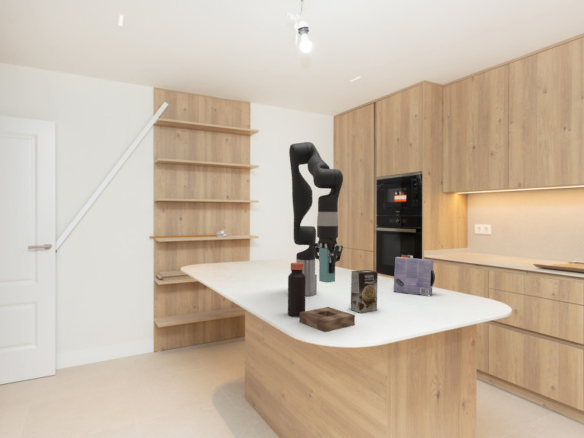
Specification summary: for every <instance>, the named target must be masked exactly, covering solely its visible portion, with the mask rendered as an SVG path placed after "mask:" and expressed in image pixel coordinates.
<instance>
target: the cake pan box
mask: <svg viewBox="0 0 584 438" xmlns="http://www.w3.org/2000/svg"><path fill="white" fill-rule="evenodd" d="M394 257H395V256H394ZM394 259H395V260H394V274H393V292H394V293H395V292H396V293H401V292H403V293H404V294H408V293H412V294H411V295H417V294H422V295H421V296H425V295H431V294H432V295H433V286H434V284H435V280H436V274H435V272H434V259H426V258H425V259H424V258H423V259H422V258H416V257H415V258H412V257H402V256H401V257H400V256H396V257H395V258H394ZM432 295H431V296H432Z"/></svg>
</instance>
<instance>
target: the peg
mask: <svg viewBox="0 0 584 438" xmlns="http://www.w3.org/2000/svg"><path fill="white" fill-rule="evenodd" d="M333 253H334V251H333ZM333 253H330V254H333ZM318 256H319V260H318V261H319V262H318V263H319V264H318V265H319V268H318V272H319V273H318V279H319V282H323V283H326V284H328V283H333V282H336V271H335V272H334V273H332V274H330V273H329V257H328V249H327V248H320V253H318ZM331 258H332V259H333V256H331Z"/></svg>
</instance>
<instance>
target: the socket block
mask: <svg viewBox="0 0 584 438" xmlns="http://www.w3.org/2000/svg"><path fill="white" fill-rule="evenodd" d="M355 316H356V315H355V314H353V313H349V312H346V311H344V310H339V309H336V308H333V307H330V306H326V307H320V308H315V309H310V310H305V311H304V312H299V317H298V318H299V323H301V324H304V325H305V326H306V325H307V326H309V327H312V328H314V329H317V330H320V331H322V332H324V333H326V332H330V331H334V330H339V329H342V328H347V327H351V326H354V325H355V323H356V322H355V320H356V319H355V318H356V317H355Z"/></svg>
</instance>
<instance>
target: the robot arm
mask: <svg viewBox="0 0 584 438" xmlns="http://www.w3.org/2000/svg"><path fill="white" fill-rule="evenodd" d="M288 154H289V162H290V163H289V164H290V173H291V190H292V193H291V194H292V195H291V197H292V210H293V211H292V212H293V242H294V244H295V245H297V246H308V248H306V249H305V250H302V251H299V252H297V253H296V260H295V261H296V262H295V263H303V271H302V273H303V274H304V275H305V277H306V279H305V297H311V296H315V295H317V293H318V290H317V289H318V287H317V285H318V284H317V282H318V281H317V278H318V276H317V274H316V260H318V261H319V253H320V248H327V249H328V257H329V273H330V274H332V273H334V272H335V273H336V263H337V262H339V261H340V260H341V257H342V253H343V249H344V247H343V245H340V244H338V241H337V239H338V237H339V213H338V212H339V211H338V208H339V207H338V203H339V197H340V192H341V189H342V185H343V182H344V175H343V173H342V171H341V170H340V169H338V168H337V169H336V168H335V169H334V168H330V166H329V165H328V164H327V163H326V162H325V161H324V160H323V158H322V157H321V155H320V153H319V151H318V149H317V148H316V146H315V145H314V143H312V142H310V141H304V142H298V143H297V142H296V143H291V144H290V146H289V153H288ZM301 165H307V170H308V173H309V174H310V175H311V176H312V178H313V185H314V186H315V187H316V188H318V189H330V191H329V192H328V194H323V195H320V196H319V197H318V200H317V217H316V219H317V220H316V227H315V226H314V225H313V226H310V225H308V226H307V225H301V224H302V222H303V219H304V218H305V216H306V215H307V213H308V212H309V211H310V210H311V208H312V205H313V189H312V187H311V186H310V184H309V183H308V181H307V180H306V179H305V178H304V177H303V174H302V173H301V171H300V166H301ZM317 238H318V241H317ZM316 241H317V242H316ZM333 251H334V253H333ZM330 253H333V254H330ZM331 256H333V259H332V258H331Z"/></svg>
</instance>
